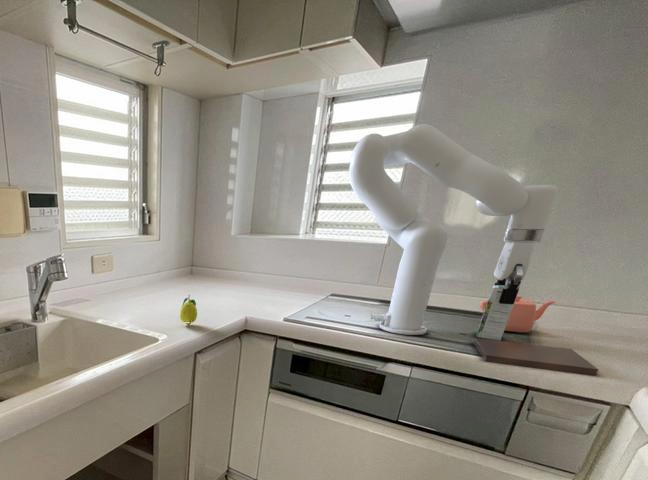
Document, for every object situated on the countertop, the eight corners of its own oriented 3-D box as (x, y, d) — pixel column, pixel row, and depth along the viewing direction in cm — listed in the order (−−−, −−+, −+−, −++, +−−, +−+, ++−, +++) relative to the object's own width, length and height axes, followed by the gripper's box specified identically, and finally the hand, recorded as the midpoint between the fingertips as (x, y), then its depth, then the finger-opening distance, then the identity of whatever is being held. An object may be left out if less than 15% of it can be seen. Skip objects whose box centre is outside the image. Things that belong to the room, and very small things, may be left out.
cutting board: (484, 360, 99) (486, 355, 99) (473, 343, 112) (474, 337, 112) (595, 375, 90) (598, 369, 90) (569, 354, 103) (571, 348, 103)
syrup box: (476, 333, 121) (492, 284, 115) (501, 336, 118) (519, 286, 112) (475, 337, 117) (491, 287, 111) (501, 341, 113) (519, 289, 108)
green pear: (181, 328, 127) (182, 297, 123) (175, 323, 132) (176, 293, 128) (201, 326, 129) (202, 295, 125) (194, 322, 134) (195, 292, 130)
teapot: (468, 321, 133) (478, 290, 129) (537, 327, 126) (550, 294, 122) (478, 330, 123) (489, 296, 119) (554, 337, 116) (568, 302, 112)
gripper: (497, 234, 115) (479, 293, 122) (513, 237, 101) (491, 305, 108) (531, 234, 112) (510, 296, 118) (552, 238, 98) (527, 308, 104)
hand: (501, 300), depth 113 cm, fingers open, 9 cm apart
